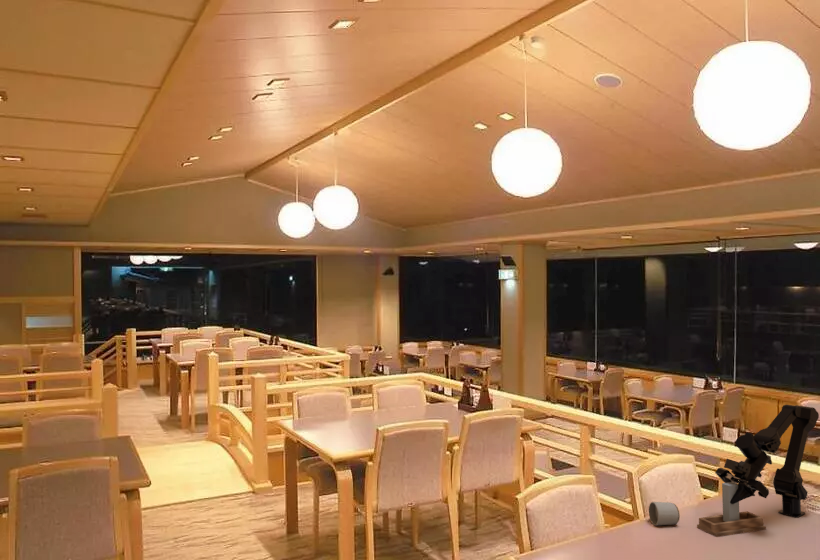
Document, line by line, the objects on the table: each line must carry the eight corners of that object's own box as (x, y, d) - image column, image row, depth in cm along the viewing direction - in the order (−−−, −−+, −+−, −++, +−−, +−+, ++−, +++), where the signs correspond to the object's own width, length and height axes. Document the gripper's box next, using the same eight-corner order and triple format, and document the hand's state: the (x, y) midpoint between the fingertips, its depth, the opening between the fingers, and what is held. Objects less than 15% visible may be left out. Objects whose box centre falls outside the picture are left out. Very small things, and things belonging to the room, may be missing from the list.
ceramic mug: (681, 527, 221) (680, 504, 221) (658, 528, 220) (657, 505, 221) (666, 517, 232) (665, 495, 232) (644, 518, 231) (643, 496, 231)
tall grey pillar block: (732, 519, 221) (731, 482, 221) (739, 522, 218) (738, 484, 218) (723, 520, 220) (722, 483, 220) (729, 523, 217) (728, 485, 217)
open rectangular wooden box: (745, 520, 226) (745, 510, 226) (766, 529, 218) (765, 518, 218) (697, 527, 221) (696, 517, 221) (716, 536, 212) (716, 526, 212)
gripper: (718, 444, 230) (693, 479, 226) (760, 457, 212) (733, 495, 208) (737, 464, 232) (712, 499, 228) (781, 479, 214) (754, 516, 211)
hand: (727, 501), depth 219 cm, fingers closed on tall grey pillar block, 3 cm apart
